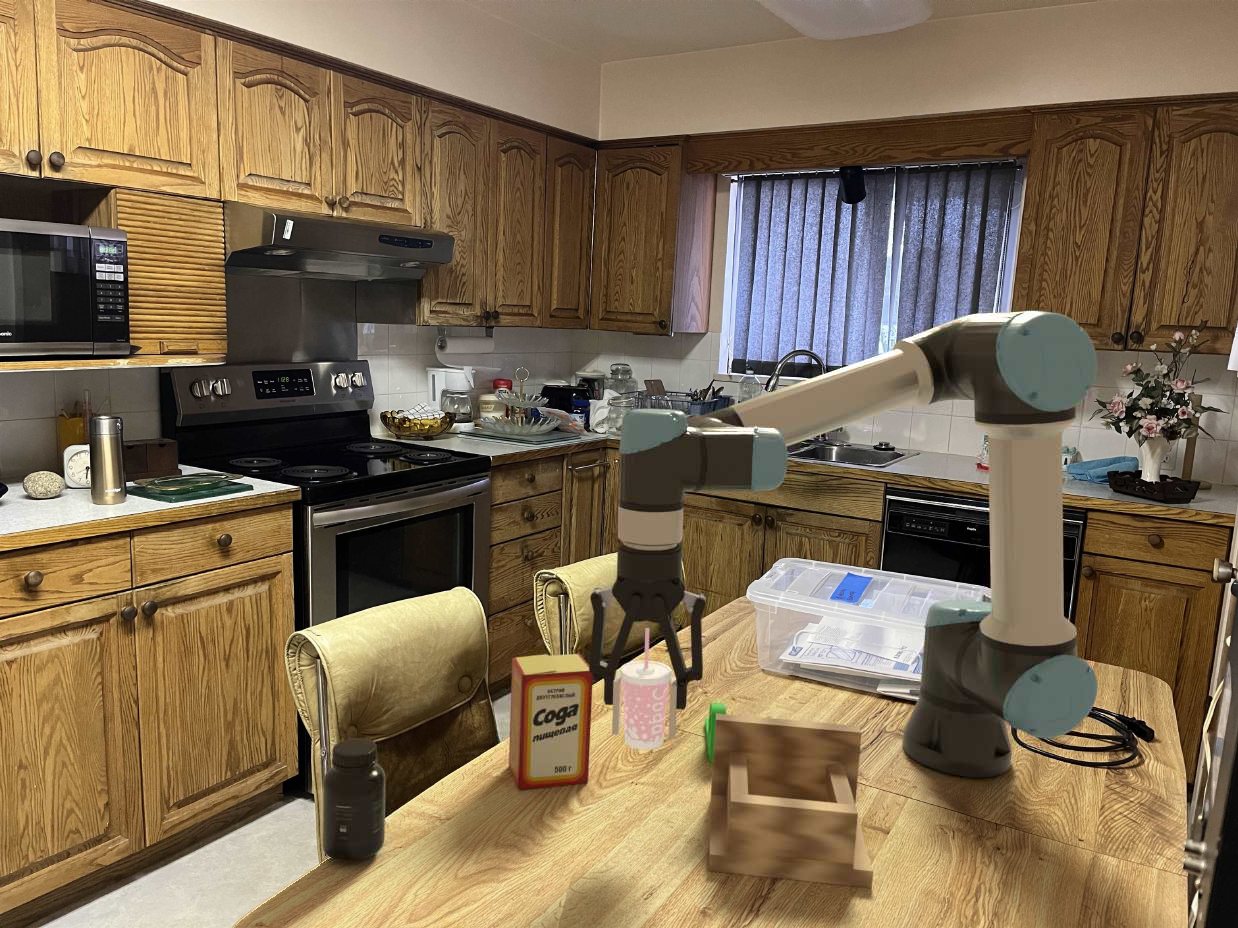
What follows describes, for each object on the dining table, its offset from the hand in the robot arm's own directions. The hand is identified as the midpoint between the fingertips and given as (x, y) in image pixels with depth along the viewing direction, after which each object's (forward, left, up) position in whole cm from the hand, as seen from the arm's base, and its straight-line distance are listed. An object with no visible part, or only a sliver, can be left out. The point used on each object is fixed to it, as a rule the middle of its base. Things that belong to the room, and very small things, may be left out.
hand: (644, 731), depth 110 cm
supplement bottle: (+32, +10, -13) cm, 36 cm away
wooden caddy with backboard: (-17, -1, -13) cm, 22 cm away
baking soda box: (+14, -12, -13) cm, 22 cm away
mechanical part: (-11, -26, -13) cm, 31 cm away
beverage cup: (0, 0, -1) cm, 1 cm away
